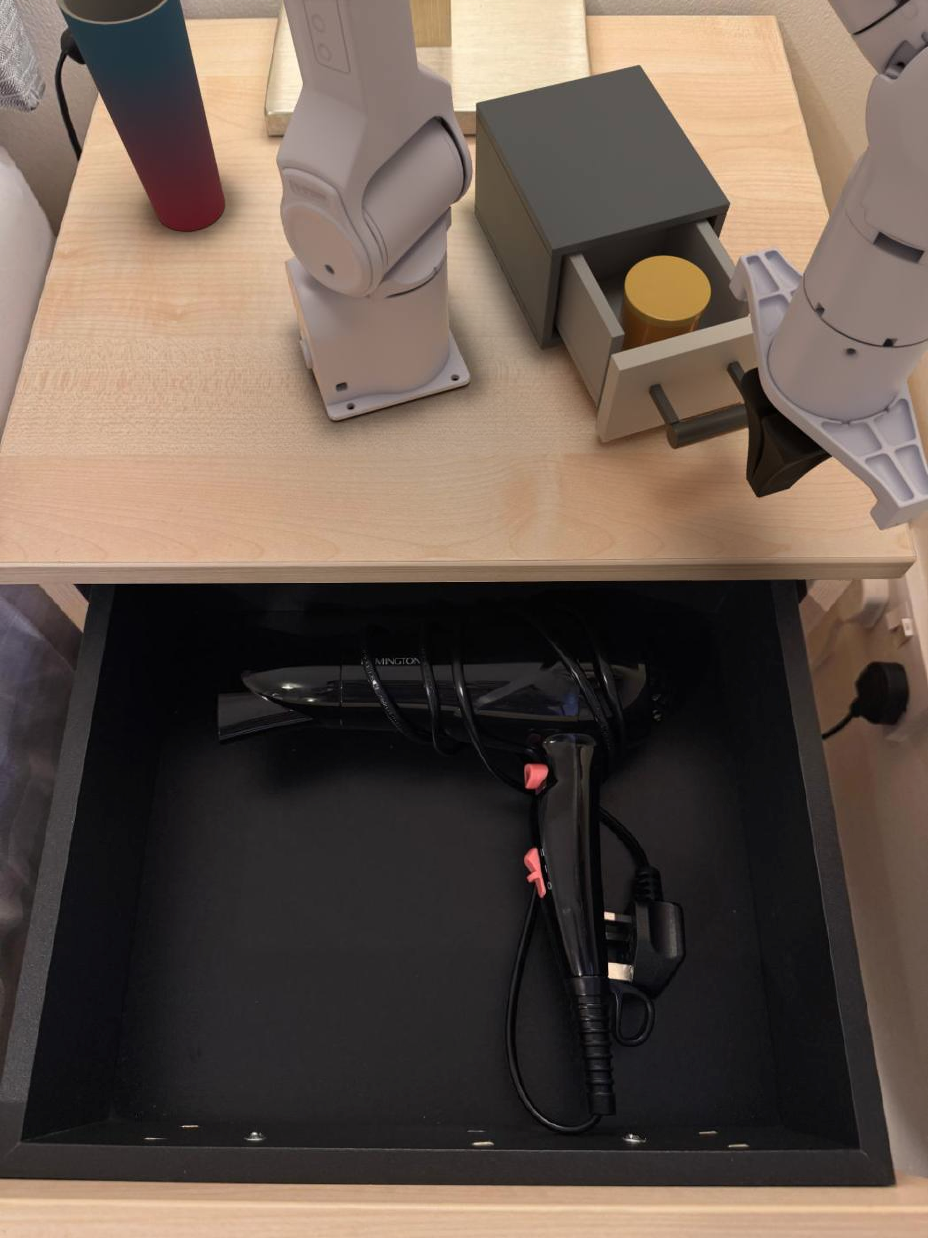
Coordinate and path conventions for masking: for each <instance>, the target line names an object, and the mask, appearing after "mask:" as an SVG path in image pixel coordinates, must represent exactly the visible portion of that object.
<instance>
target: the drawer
mask: <svg viewBox="0 0 928 1238" xmlns="http://www.w3.org/2000/svg"><path fill="white" fill-rule="evenodd" d="M727 251H728V250H727V249H726V247H725V246H724V245H723V243H722V241H721V240H720V238H719V239H718V237H717V235H716V234H715V232H714V231H713V229H712V228H711V226H710V224H709V223H708V221H707V220H706V218H704V219H700V220H696V221H692V222H688V223H684V224H681V225H677V226H673V227H669V228H665V229H661V230H658V231H654V232H650V233H646V234H642V235H638V236H635V237H631V238H627V239H623V240H619V241H615V242H612V243H608V244H604V245H600V246H596V247H593V248H589V249H585V250H581V251H577V252H573V253H570V254H566V255H562V260H561V268H560V275H559V283H558V291H557V299H556V307H555V314H554V323H555V325H556V327H557V329H558V331H559V333H560V335H561V337H562V339H563V341H564V343H563V344H564V345H565V347H566V349H567V351H568V353H569V355H570V357H571V359H572V361H573V362H574V365H575V367H576V369H577V371H578V374H580V377H581V379H582V381H583V383H584V384H585V387H586V389H587V391H588V393H589V395H590V397H591V399H592V401H593V403H594V405H595V407H596V408H598V412H597V418H596V422H595V426H594V428H595V431H596V432H597V435H598V437H599V438H600V441H601V442H602V443H606V442H610V441H613V440H615V439H621V438H622V437H623V438H624V437H626V436H629V435H633V434H636V433H640V432H643V431H646V430H650V429H653V428H657V427H660V426H664V425H665V426H666V430H665V436H666V440H667V442H668V445H669V447H670V448H671V449H673V450H679V449H682V448H685V447H688V446H692V445H695V444H699V443H703V442H706V441H709V440H711V439H715V438H719V437H721V436H725V435H728V434H732V433H735V432H739V431H742V430H745V429H748V419H747V413H746V408H745V404H744V400H743V397H742V394H741V391H740V389H739V384H740V381H741V379H742V377H743V375H744V374H745V373H746V372H747V371H748V370H750V369H753V368H756V367H758V364H757V357H756V351H755V344H754V337H753V331H752V324H751V318H750V311H749V304H748V299H747V300H744V301H740V300H738V299H737V298H735V296H734V294H733V293H732V291H731V289H730V288H729V285H730V282H731V279H732V276H733V274H734V271H735V268H736V263H735V262H734V261H733V259H732V258H731V256H730V255H729V253H728V252H727ZM654 256H674V257H678V258H682V259H685V260H687V261H689V262H691V263H693V264H694V265H696V266H697V267H698V268H700V269H701V270H702V271H703V273H704V274H705V275H706V277H707V278H708V280H709V283H710V287H711V296H710V300H709V303H708V306H707V308H706V310H705V312H704V314H703V315H702V318H701V321H700V324H699V327H698V330H697V331H695V332H691V333H687V334H684V335H680V336H677V337H673V338H670V339H666V340H662V341H659V342H655V343H652V344H648V345H644V346H641V347H637V348H634V349H630V350H627V351H623V352H621V348H622V344H623V340H624V335H625V333H624V331H623V330H622V328H621V326H620V324H619V322H618V318H619V313H620V309H621V304H622V300H623V287H624V283H625V279H626V276H627V274H628V272H629V271H630V270H631V268H632V267H633V266H634V265H636V264H637V263H638V262H640V261H642V260H644V259H647V258H650V257H654ZM741 402H743V403H741ZM738 403H740V404H738ZM731 405H733V406H731ZM728 406H730V407H728ZM725 407H726V408H725ZM718 409H719V410H718ZM715 410H716V411H715ZM712 411H713V412H712ZM708 412H709V413H708ZM704 413H705V414H704ZM687 418H688V419H687ZM683 419H685V420H683ZM681 420H682V421H681Z"/></svg>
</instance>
